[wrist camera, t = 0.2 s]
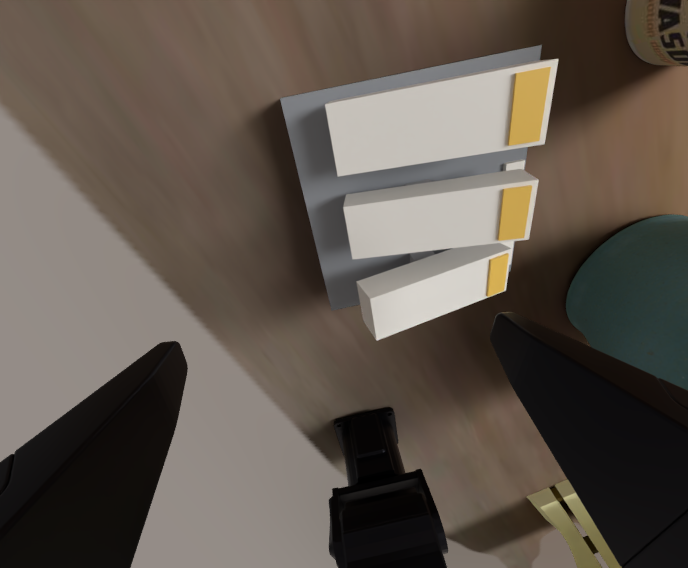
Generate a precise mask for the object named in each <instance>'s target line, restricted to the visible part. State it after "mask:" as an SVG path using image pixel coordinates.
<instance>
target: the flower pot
mask: <svg viewBox="0 0 688 568" xmlns="http://www.w3.org/2000/svg"><path fill="white" fill-rule="evenodd" d="M566 312H567V315H568V318H569V320H570V322H571V323H572V324H573V326H574V327H575V328H577V329H578V330H579V331H581V332H582V333H583V335H584V336H585V338H586V339H587V341H588V342H589V344H590V346H591V347H592V348H594V349H596V350H599V351H601V352H603V353H605V354H607V355H610V356H612V357H614V358H616V359H619V360H621V361H623V362H625V363H628V364H630V365H632V366H634V367H636V368H639V369H641V370H643V371H645V372H648V373H650V374H652V375H654V376H656V377H657V378H661V379H663V380H666V381H668V382H670V383H672V384H675V385H677V386H679V387H681V388H684V389H686V390H688V217H687V216H683V215H662V216H657V217H652V218H648V219H645V220H642V221H640V222H638V223H635V224H633V225H631V226H629V227H627V228H625V229H623V230H622V231H620V232H618V233H617V234H615V235H614V236H612V237H611V238H610V239H608V240H607V241H606V242H605V243H603V244H602V245H601V246H600V247H599V248H598V249H596V250H595V251H594V252H593V254H592V255H591V256H590V257H589V258H588V259H587V260H586V261H585V263H584V264H583V265H582V266H581V268H580V269H579V271H578V272H577V274H576V275H575V277H574V279H573V281H572V283H571V285H570V288H569V290H568V293H567V299H566Z"/></svg>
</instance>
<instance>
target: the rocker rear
mask: <svg viewBox="0 0 688 568" xmlns="http://www.w3.org/2000/svg"><path fill="white" fill-rule="evenodd" d="M511 249H512V248H510V247H507V246H505V245H503V244H501V243H494V244H485V245H476V246H468V247H459V248H453V249H450V250H447V251H444V252H441V253H438V254H435V255H432V256H429V257H426V258H424V259H421V260H418V261H415V262H412V263H409V264H406V265H403V266H400V267H397V268H394V269H391V270H388V271H386V272H383V273H380V274H377V275H374V276H371V277H368V278H365V279H362V280H359V281H356V283H357V288H358V294H359V299H360V305H361V311H362V316H363V321H364V323H365V324H366V326H367V327H368V329H369V330H370V332H371V333H372V335H373V336H374V338H375V339H376V340H380V339H382V338H385V337H388V336H390V335H393V334H395V333H398V332H400V331H403V330H406V329H408V328H411V327H413V326H416V325H418V324H421V323H424V322H426V321H429V320H431V319H434V318H437V317H439V316H442V315H444V314H447V313H449V312H452V311H455V310H457V309H460V308H462V307H465V306H468V305H470V304H473V303H475V302H478V301H480V300H483V299H486V298H488V297H491V296H493V295H496V294H499V293H501V292H504V291H506V286H507V279H508V272H509V264H510V257H511Z"/></svg>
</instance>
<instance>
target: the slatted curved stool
mask: <svg viewBox="0 0 688 568" xmlns="http://www.w3.org/2000/svg"><path fill="white" fill-rule="evenodd" d="M527 498H528V499H529V500H530V501H531V503H532V504H533V505H534V506H535V507H536V509H537V510H538V511H539V512H540V513H541V514H542V516H543V517H544V518H545V519H546V520H547V521H548V522H549V523H551V524H552V525H553V526H554V527H555V528H557V529H558V530H559V531H560V532H561V534H562V535H563V537H564V538H565V540H566V541H567V543H568V545H569V547H570V549H571V551H572V554H573V556H574V559H575V562H576V565H577V568H602V567H601V565H600V564H599V562H598V560H597V559H596V557H595V556H594V554H595V553H597V552H599V553H600V555H601V556H602V557H603V559H604V561H605V562H606V564H607V565H608V567H609V568H622V567H621V566H620V565H619V564H618V562H617V560H616V559H615V557H614V555H613V554H612V552H611V550H610V549H609V547H608V545H607V544H606V542H605V540H604V539H603V537H602V535H601V534H600V532H599V530H598V529H597V527H596V525H595V524H594V522H593V520H592V519H591V517H590V515H589V514H588V512H587V510H586V509H585V507H584V505H583V504H582V502H581V500H580V499H579V497H578V495H577V494H576V492H575V490H574V489H573V487H572V485H571V484H570V482H569V480H568V479H567V480H565V481H562V482H560V483H558V484H555V487H554V488H552V489H550V488H549V487H548V488H546V489H544V490H541V491H539V492H536V493H534V494H532V495H529V496H527ZM562 500H565V502H566V503H567V505H568V506H569V508H570V509H571V511H572V512H573V514H574V515H575V517H576V518H577V520H578V521H579V523H580V524H581V526H582V527H583V529H584V530H585V532H586V533H587V535H588V536H585V537H582V536H581V534H580V532H579V531H578V529H577V528H576V526H575V525H574V523H573V522H572V520H571V519H570V517H569V516H568V514H567V513H566V511H565V510H564V508H563V507H562V505H561V504H560V503H559V502H560V501H562Z"/></svg>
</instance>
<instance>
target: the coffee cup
mask: <svg viewBox="0 0 688 568" xmlns="http://www.w3.org/2000/svg"><path fill="white" fill-rule="evenodd" d="M625 29H626V36H627V40H628V43H629V45H630V47H631V49H632V50H633V52H634V53H635V54H636V55H637V56H638V57H639V58H640V59H642V60H643V61H645V62H648V63H650V64H655V65H669V66H688V0H627V4H626V9H625Z"/></svg>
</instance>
